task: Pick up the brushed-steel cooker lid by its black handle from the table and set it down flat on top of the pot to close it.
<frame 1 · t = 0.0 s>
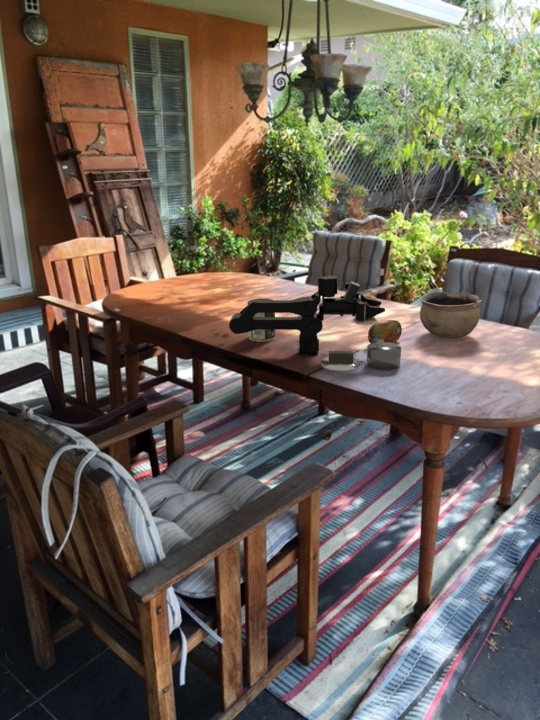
hand: (383, 306, 206), 17 cm above the table, tool horizontal, fingers open, 9 cm apart
pot: (383, 364, 200), on the table
onion: (367, 318, 254), on the table
ceramic bowl: (447, 336, 228), on the table
coffee can: (262, 338, 229), on the table
lid: (340, 365, 200), on the table
tin: (384, 344, 221), on the table
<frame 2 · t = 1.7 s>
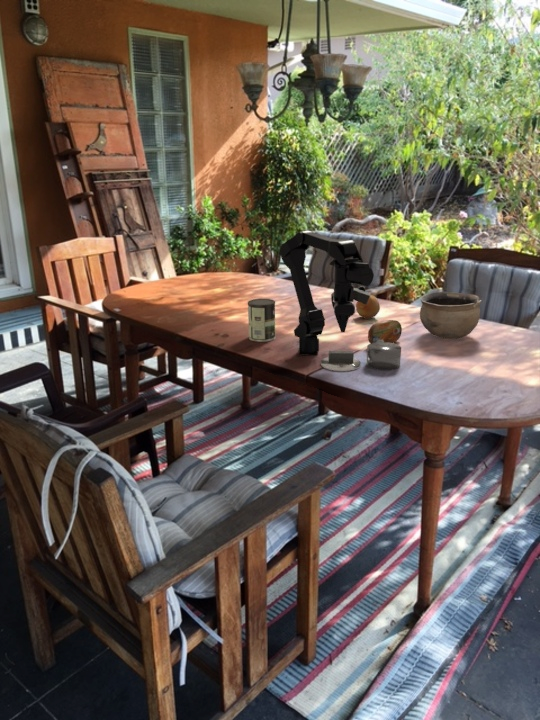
hand: (341, 328, 196), 12 cm above the table, tool pointing down, fingers open, 9 cm apart
nothing on the table moved.
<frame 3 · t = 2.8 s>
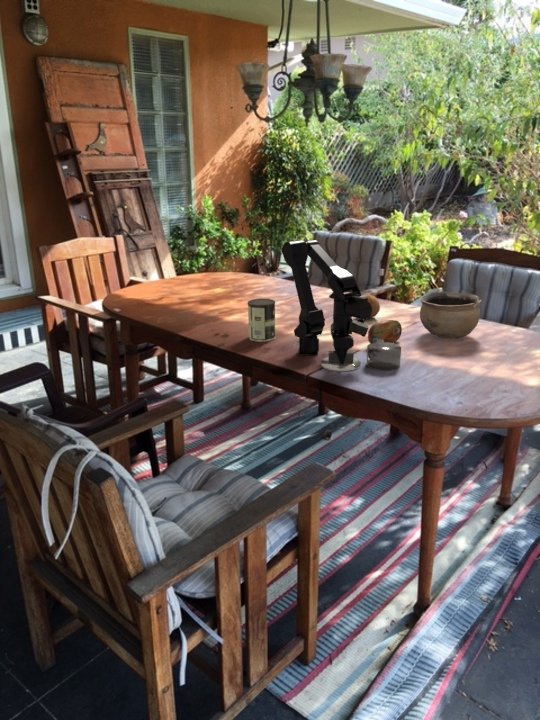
hand: (340, 359, 199), 2 cm above the table, tool pointing down, fingers open, 9 cm apart
nothing on the table moved.
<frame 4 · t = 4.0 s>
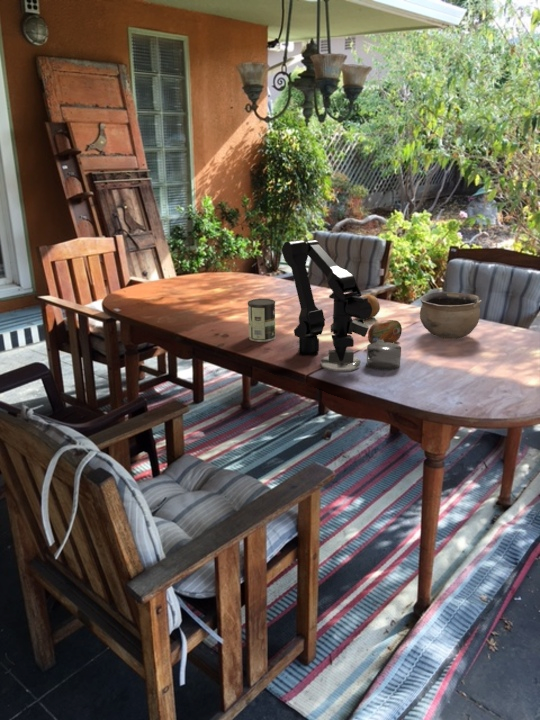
hand: (340, 359, 199), 2 cm above the table, tool pointing down, fingers closed on lid, 2 cm apart
lid: (340, 364, 200), on the table, touching gripper
everything else where it was.
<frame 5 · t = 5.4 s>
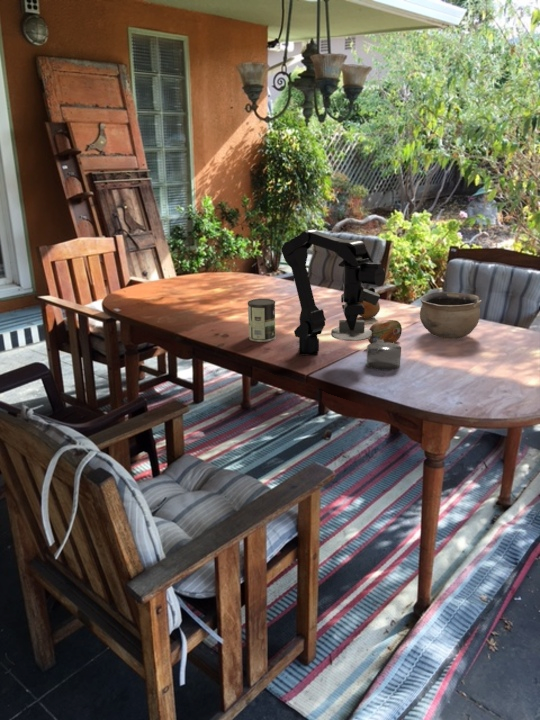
hand: (351, 329, 196), 12 cm above the table, tool pointing down, fingers closed on lid, 2 cm apart
lid: (351, 335, 196), point 10 cm above the table, touching gripper
everything else where it was.
when the fingers open (9 cm above the table, at t = 7.1 s): lid stays where it is, resting on pot.
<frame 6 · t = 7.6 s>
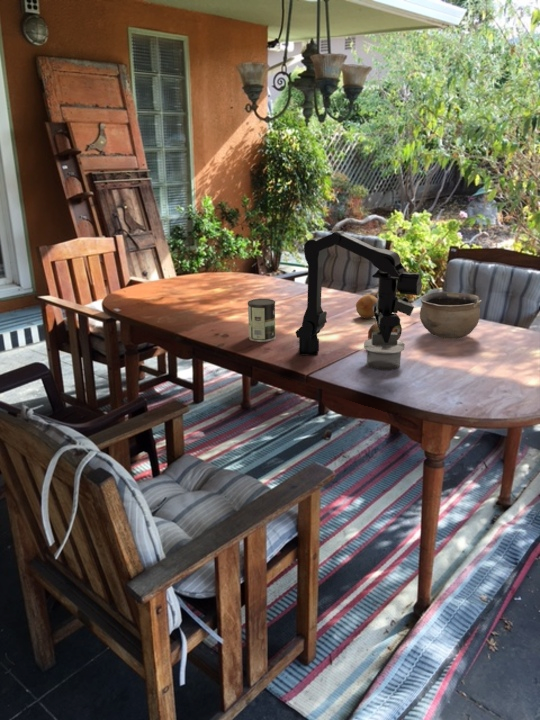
hand: (384, 339, 197), 9 cm above the table, tool pointing down, fingers open, 7 cm apart
lid: (384, 347, 198), point 6 cm above the table, touching pot
everything else where it was.
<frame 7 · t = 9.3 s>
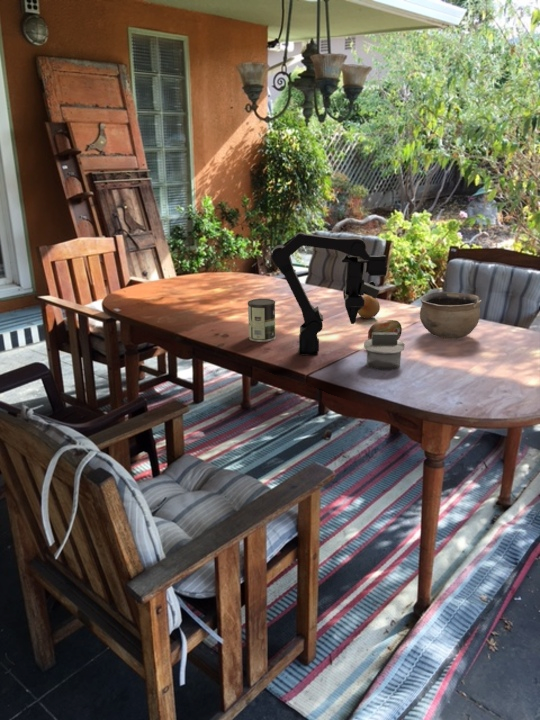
hand: (351, 320, 207), 12 cm above the table, tool pointing down, fingers open, 9 cm apart
nothing on the table moved.
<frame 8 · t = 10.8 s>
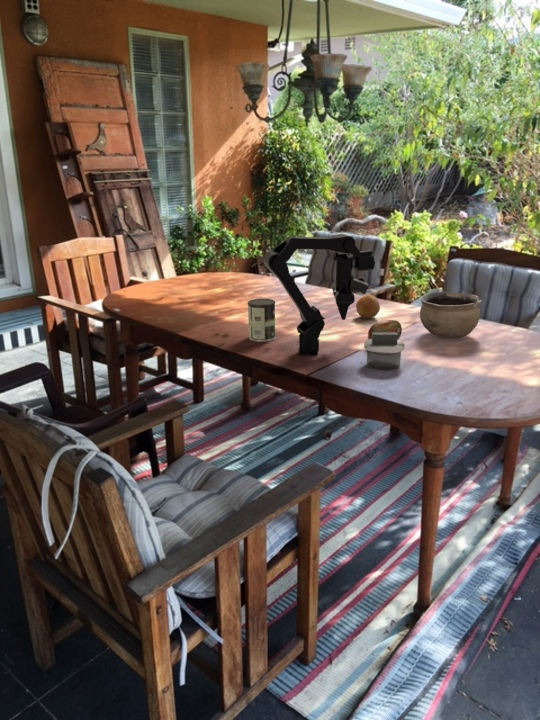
hand: (342, 316, 212), 12 cm above the table, tool pointing down, fingers open, 9 cm apart
nothing on the table moved.
at the end: lid 0.0 cm off-centre on the pot, point 6.0 cm above the pot's base; lid tilted 0°; the gripper is holding nothing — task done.
